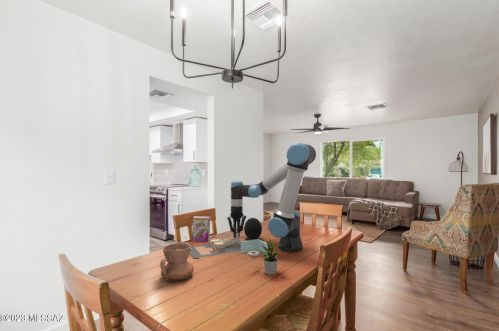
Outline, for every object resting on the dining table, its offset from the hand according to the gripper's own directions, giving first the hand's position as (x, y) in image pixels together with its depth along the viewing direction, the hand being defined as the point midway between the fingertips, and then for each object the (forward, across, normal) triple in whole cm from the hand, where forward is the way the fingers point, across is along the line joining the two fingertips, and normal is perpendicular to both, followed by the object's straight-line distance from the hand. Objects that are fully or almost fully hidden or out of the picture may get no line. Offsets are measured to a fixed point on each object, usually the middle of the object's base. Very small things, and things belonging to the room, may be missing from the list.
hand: (236, 242), depth 165 cm
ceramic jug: (+2, +43, +31) cm, 53 cm away
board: (+2, +12, 0) cm, 12 cm away
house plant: (+2, +2, +43) cm, 43 cm away
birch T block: (+2, +8, 0) cm, 8 cm away
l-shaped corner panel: (+3, -3, +20) cm, 21 cm away
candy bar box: (+3, +17, -20) cm, 26 cm away
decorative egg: (+2, -16, -8) cm, 18 cm away
